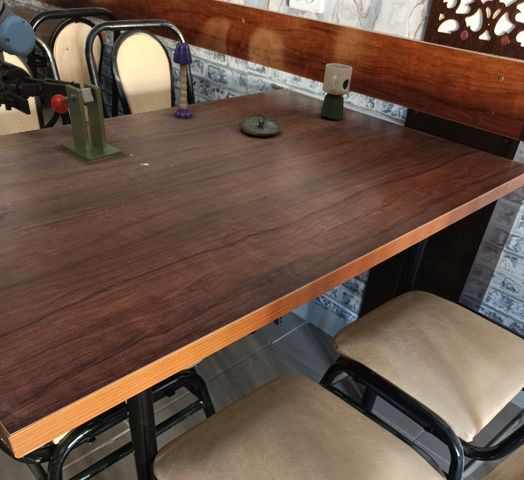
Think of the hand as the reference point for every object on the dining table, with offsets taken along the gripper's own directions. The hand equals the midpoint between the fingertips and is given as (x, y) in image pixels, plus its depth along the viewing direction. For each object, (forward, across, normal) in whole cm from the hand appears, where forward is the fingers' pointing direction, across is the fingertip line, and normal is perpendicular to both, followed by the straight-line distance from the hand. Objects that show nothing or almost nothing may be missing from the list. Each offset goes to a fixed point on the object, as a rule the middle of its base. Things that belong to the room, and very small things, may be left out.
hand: (58, 103), depth 108 cm
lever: (+6, 0, 0) cm, 7 cm away
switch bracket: (+11, 0, -7) cm, 13 cm away
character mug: (+24, -68, -7) cm, 72 cm away
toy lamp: (+2, -33, -7) cm, 34 cm away
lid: (+22, -41, -7) cm, 47 cm away
